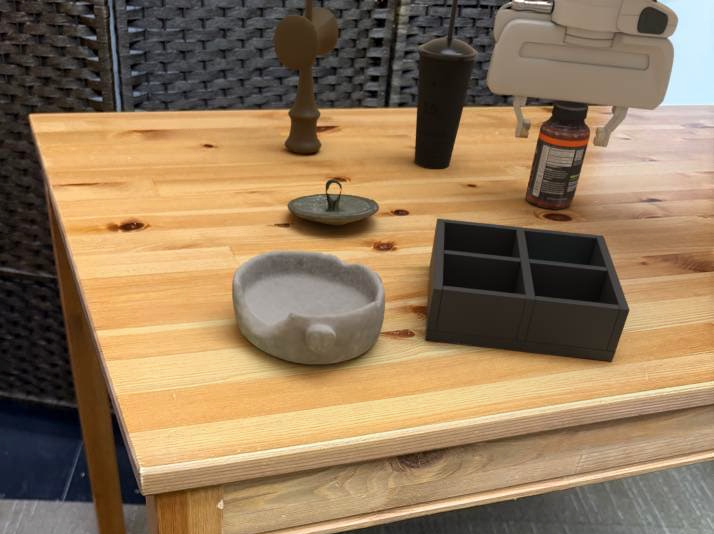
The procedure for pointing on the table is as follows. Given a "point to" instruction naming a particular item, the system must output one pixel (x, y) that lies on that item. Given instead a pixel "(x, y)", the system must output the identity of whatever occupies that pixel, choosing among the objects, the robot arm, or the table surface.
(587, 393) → the table surface
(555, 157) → the supplement bottle
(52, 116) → the table surface
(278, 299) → the dish
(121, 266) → the table surface
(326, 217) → the lid
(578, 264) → the compartment organizer box
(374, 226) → the table surface
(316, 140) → the kendama
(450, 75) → the drinking cup
